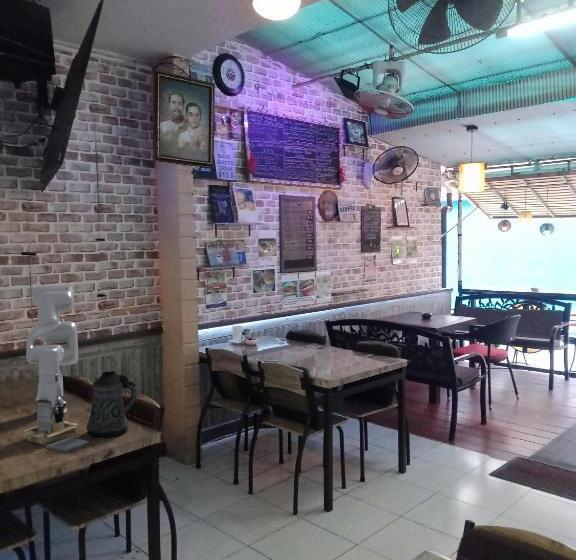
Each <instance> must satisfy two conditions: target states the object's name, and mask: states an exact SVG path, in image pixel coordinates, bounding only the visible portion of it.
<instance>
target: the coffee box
mask: <svg viewBox="0 0 576 560" xmlns="http://www.w3.org/2000/svg"><path fill="white" fill-rule="evenodd" d="M62 399H63V400H64V395H63V396H62ZM64 401H65V400H64ZM35 402H36V421H37V422H36V423H37V424H36V426H37V427H38V433H43V434H47V433H50V432H53V431H56V430H59V429H62V428H65V423H64V421H65V413H64V411H63V421H62V422H60V423H55V413H56V412H55V410H54V408H51V401H46V400H38V401H36V400H35ZM56 405H57V404H56ZM57 409H59V407H58V408H57Z"/></svg>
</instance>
